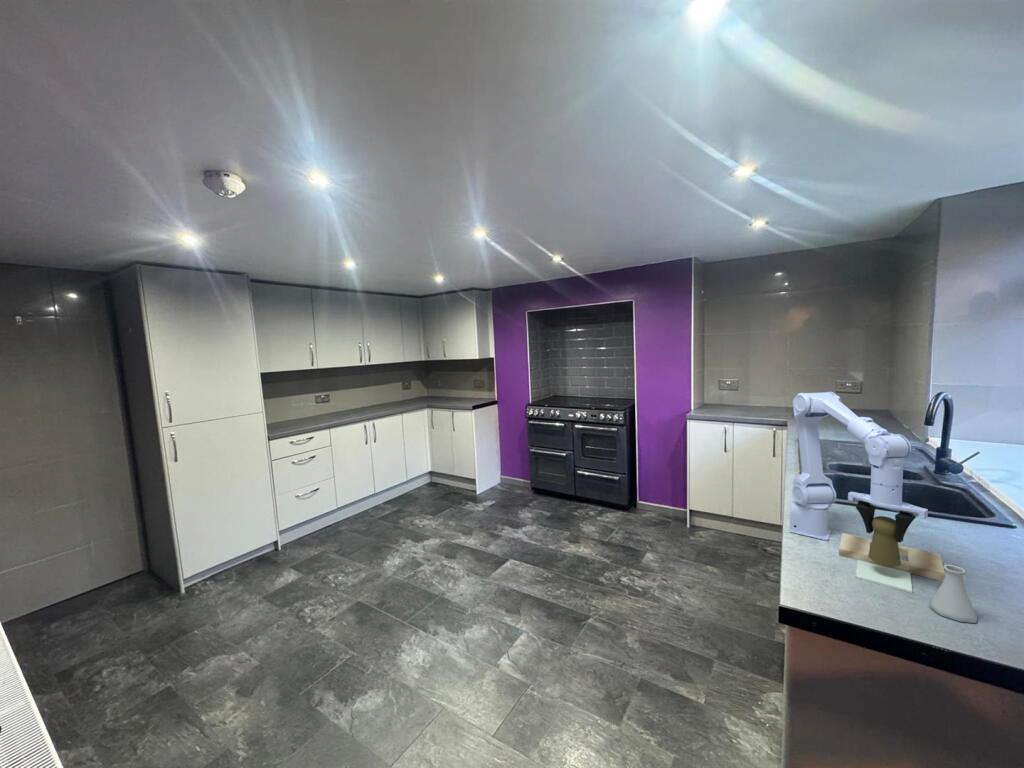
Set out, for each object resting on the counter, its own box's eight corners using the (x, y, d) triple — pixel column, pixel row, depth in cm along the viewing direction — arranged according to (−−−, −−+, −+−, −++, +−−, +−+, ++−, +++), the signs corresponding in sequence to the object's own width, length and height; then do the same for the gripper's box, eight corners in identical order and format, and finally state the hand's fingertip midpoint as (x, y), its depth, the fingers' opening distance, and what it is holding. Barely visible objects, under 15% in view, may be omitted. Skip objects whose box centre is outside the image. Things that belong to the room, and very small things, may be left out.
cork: (903, 569, 97) (905, 527, 95) (870, 562, 100) (871, 522, 98) (897, 555, 101) (899, 515, 100) (866, 550, 105) (867, 511, 103)
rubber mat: (855, 577, 100) (855, 576, 100) (857, 561, 107) (857, 559, 107) (912, 593, 93) (912, 591, 93) (910, 574, 100) (910, 572, 100)
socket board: (838, 555, 111) (839, 548, 110) (842, 539, 119) (842, 533, 119) (944, 581, 97) (945, 573, 97) (939, 561, 106) (940, 554, 106)
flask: (985, 628, 81) (987, 581, 80) (935, 617, 85) (937, 572, 84) (969, 608, 87) (971, 564, 86) (923, 598, 91) (925, 556, 90)
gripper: (933, 488, 94) (931, 543, 95) (857, 473, 106) (855, 522, 108) (922, 494, 90) (919, 552, 91) (844, 478, 103) (843, 528, 104)
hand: (884, 536), depth 99 cm, fingers closed on cork, 5 cm apart
